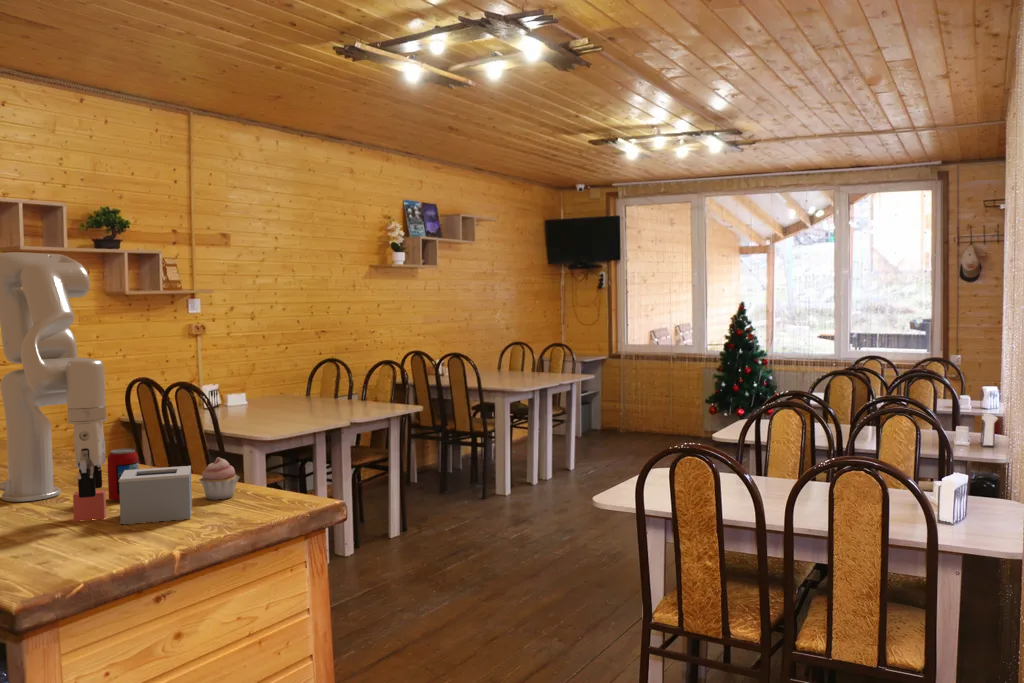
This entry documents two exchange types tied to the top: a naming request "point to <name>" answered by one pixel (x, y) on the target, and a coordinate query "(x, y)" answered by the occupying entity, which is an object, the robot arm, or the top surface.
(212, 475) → the cupcake
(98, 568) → the top surface
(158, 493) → the grey box
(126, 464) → the beverage can
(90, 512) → the block
